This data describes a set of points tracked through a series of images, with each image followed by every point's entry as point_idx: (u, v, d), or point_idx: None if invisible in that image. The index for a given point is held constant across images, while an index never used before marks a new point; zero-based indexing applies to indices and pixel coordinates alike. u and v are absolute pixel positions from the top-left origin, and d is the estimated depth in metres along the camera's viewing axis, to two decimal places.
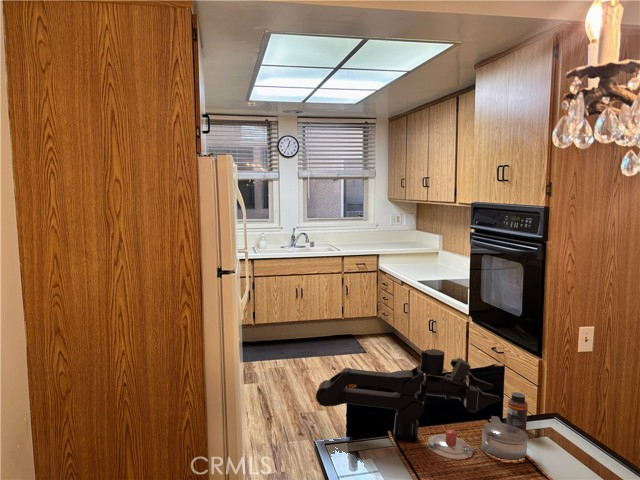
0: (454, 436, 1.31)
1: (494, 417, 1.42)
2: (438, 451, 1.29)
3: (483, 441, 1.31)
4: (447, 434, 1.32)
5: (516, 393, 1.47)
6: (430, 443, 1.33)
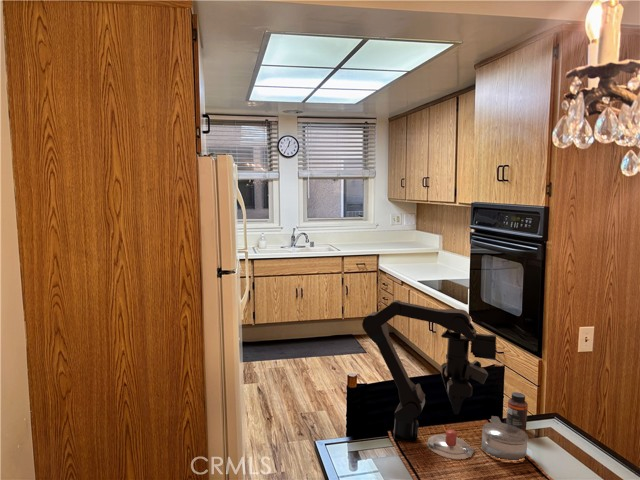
0: (454, 436, 1.31)
1: (494, 417, 1.42)
2: (438, 451, 1.29)
3: (483, 441, 1.31)
4: (447, 434, 1.32)
5: (516, 393, 1.47)
6: (430, 443, 1.33)
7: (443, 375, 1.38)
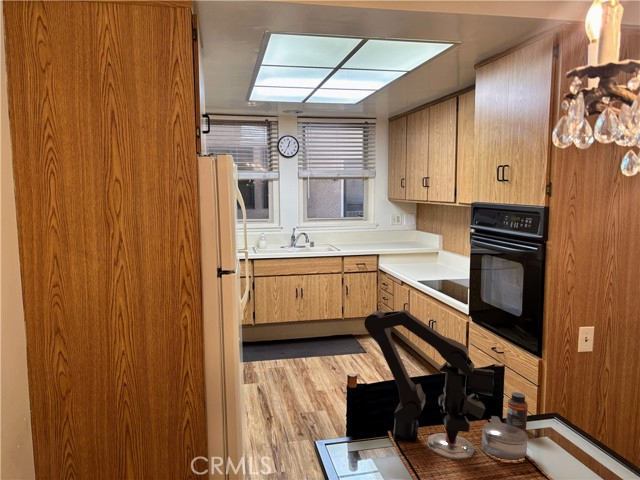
0: None
1: (494, 417, 1.42)
2: (438, 450, 1.29)
3: (483, 441, 1.31)
4: None
5: (516, 393, 1.47)
6: (431, 441, 1.33)
7: (442, 411, 1.36)
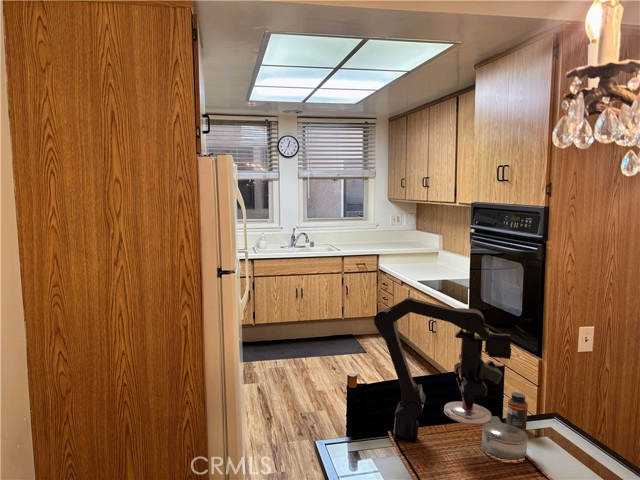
0: None
1: (494, 417, 1.42)
2: (455, 416, 1.28)
3: (483, 441, 1.31)
4: None
5: (516, 393, 1.47)
6: (447, 409, 1.32)
7: (458, 378, 1.35)
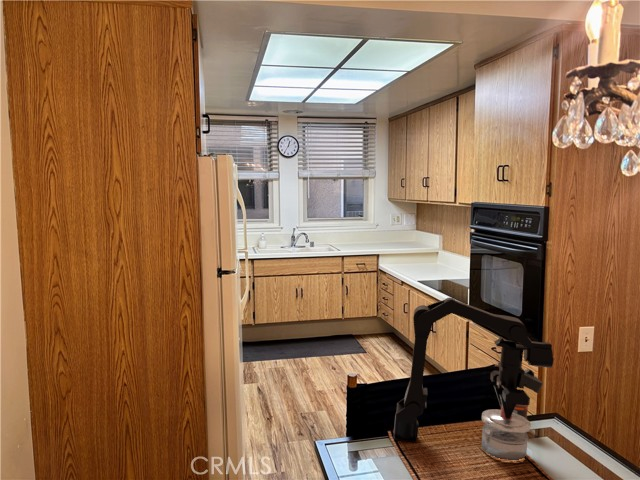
0: None
1: None
2: (495, 424, 1.27)
3: (483, 441, 1.31)
4: None
5: None
6: (485, 417, 1.32)
7: (496, 387, 1.34)
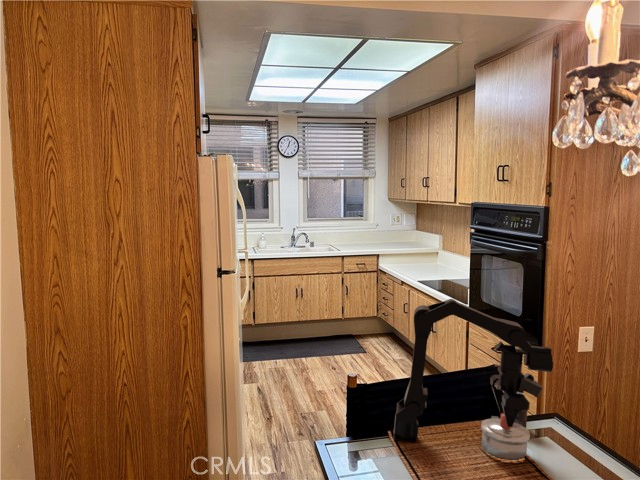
0: None
1: (494, 417, 1.42)
2: (494, 434, 1.27)
3: (483, 441, 1.31)
4: (502, 417, 1.30)
5: None
6: (485, 426, 1.32)
7: (494, 388, 1.36)
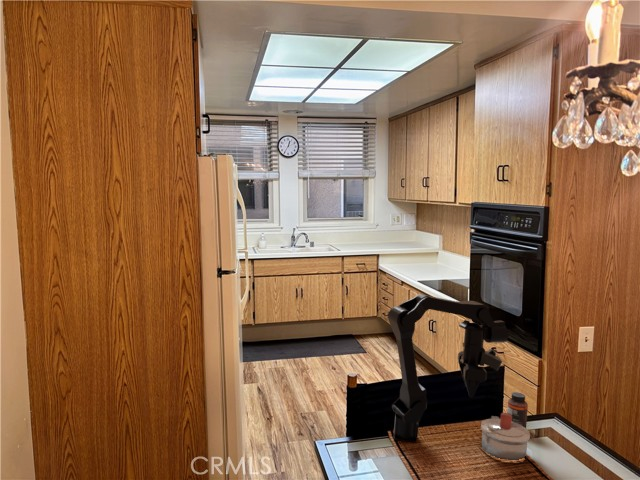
0: (509, 419, 1.30)
1: (494, 417, 1.42)
2: (494, 434, 1.27)
3: (483, 441, 1.31)
4: (502, 417, 1.30)
5: (516, 393, 1.47)
6: (485, 426, 1.32)
7: (460, 362, 1.48)
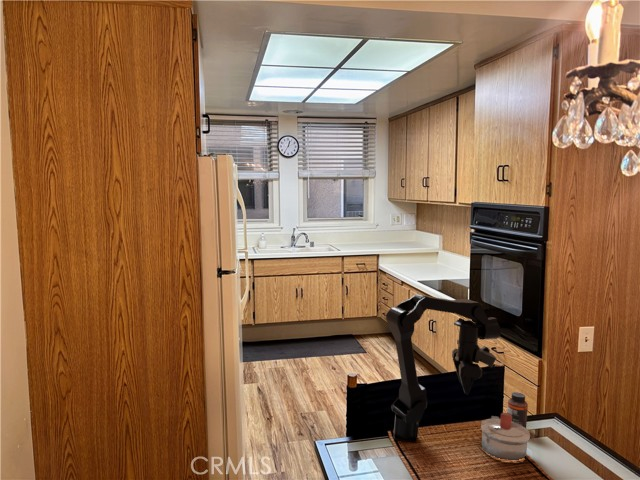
0: (510, 419, 1.30)
1: (494, 417, 1.42)
2: (494, 434, 1.27)
3: (483, 441, 1.31)
4: (502, 417, 1.30)
5: (516, 393, 1.47)
6: (485, 426, 1.32)
7: (454, 360, 1.50)
